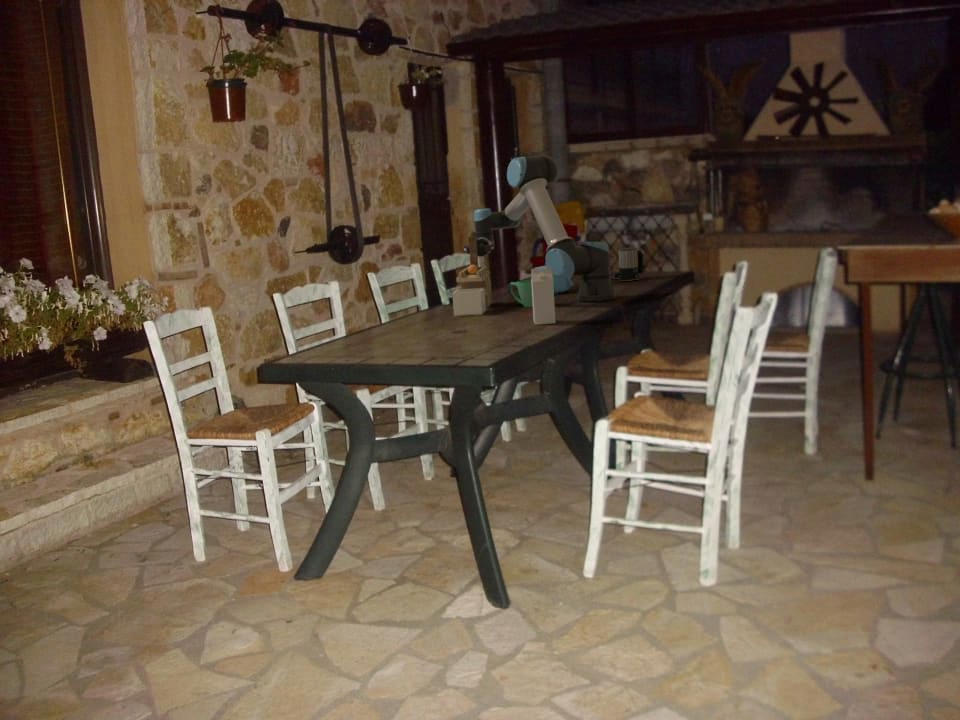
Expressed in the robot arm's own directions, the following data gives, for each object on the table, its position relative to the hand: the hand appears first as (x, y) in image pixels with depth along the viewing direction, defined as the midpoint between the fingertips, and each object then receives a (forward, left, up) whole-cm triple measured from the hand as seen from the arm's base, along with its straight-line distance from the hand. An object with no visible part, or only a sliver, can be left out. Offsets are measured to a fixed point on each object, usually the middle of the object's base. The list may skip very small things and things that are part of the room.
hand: (473, 251), depth 386 cm
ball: (-5, +4, -7) cm, 9 cm away
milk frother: (+9, -85, -22) cm, 89 cm away
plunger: (-2, +1, -8) cm, 8 cm away
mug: (-20, -11, -22) cm, 31 cm away
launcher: (-5, +4, -22) cm, 23 cm away
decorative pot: (+3, -41, -22) cm, 46 cm away
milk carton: (-61, +9, -22) cm, 65 cm away
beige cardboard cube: (-16, +13, -22) cm, 30 cm away
